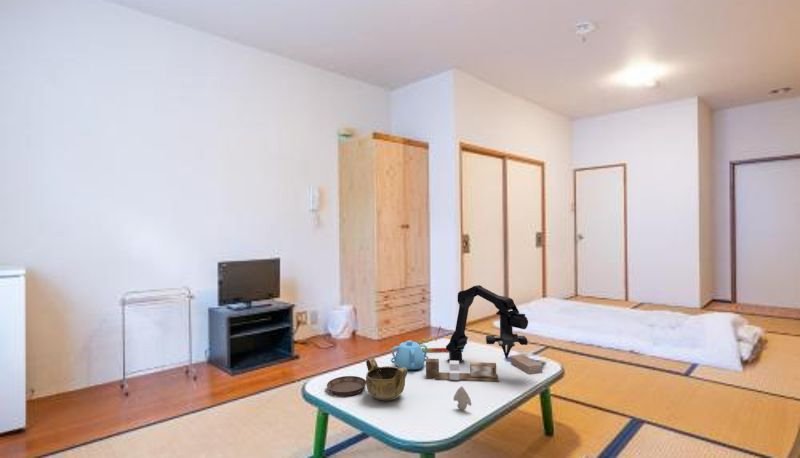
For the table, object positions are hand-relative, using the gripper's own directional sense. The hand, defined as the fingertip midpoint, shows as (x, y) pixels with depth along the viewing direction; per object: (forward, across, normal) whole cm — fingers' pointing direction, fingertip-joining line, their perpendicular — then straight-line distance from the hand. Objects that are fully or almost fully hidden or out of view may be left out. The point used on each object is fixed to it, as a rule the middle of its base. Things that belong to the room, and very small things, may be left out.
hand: (506, 358), depth 201 cm
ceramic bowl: (+10, -54, -26) cm, 61 cm away
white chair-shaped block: (+9, -24, 0) cm, 26 cm away
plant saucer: (+11, -73, -18) cm, 76 cm away
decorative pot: (+10, -47, +13) cm, 50 cm away
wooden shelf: (+10, -21, 0) cm, 23 cm away
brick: (+11, +12, +16) cm, 22 cm away
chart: (+11, -35, +39) cm, 53 cm away
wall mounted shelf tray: (+9, -11, 0) cm, 14 cm away
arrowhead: (+10, -21, -35) cm, 42 cm away
